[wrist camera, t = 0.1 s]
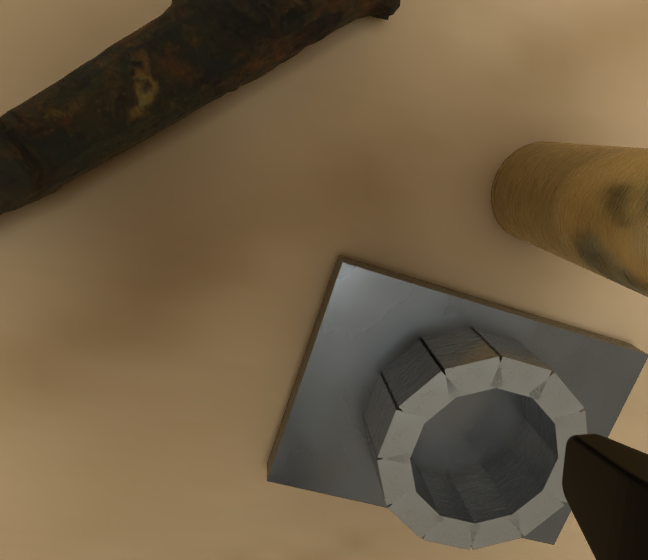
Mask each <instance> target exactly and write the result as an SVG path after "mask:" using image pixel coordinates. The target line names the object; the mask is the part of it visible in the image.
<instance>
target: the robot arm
mask: <svg viewBox="0 0 648 560" xmlns="http://www.w3.org/2000/svg"><path fill="white" fill-rule="evenodd" d="M562 488H563V492H564V496H565V498H566V500H567V502H568V504H569V506H570V508H571V510H572V512H573V514H574V516H575V518H576V520H577V522H578V524H579V526H580V528H581V530H582V532H583V534H584V536H585V538H586V540H587V542H588V544H589V546H590V548H591V550H592V552H593V554H594V556H595V558H596V560H648V454H646V453H643V452H641V451H638V450H636V449H633V448H631V447H628V446H626V445H623V444H621V443H619V442H616V441H614V440H611V439H609V438H606V437H604V436H601V435H599V434H581V435H572V436H571V437H570V438H569V439H568V440H567V443H566V449H565V458H564V467H563V476H562Z"/></svg>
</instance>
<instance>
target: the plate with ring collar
mask: <svg viewBox="0 0 648 560" xmlns="http://www.w3.org/2000/svg"><path fill="white" fill-rule="evenodd" d="M647 358H648V354H646V353H645V352H643V351H641V350H640V349H638V348H636V347H635V346H633V345H631V344H628V343H625V342H621V341H618V340H615V339H612V338H608V337H605V336H602V335H598V334H595V333H592V332H589V331H585V330H582V329H579V328H576V327H572V326H569V325H566V324H562V323H559V322H556V321H553V320H549V319H546V318H543V317H539V316H536V315H533V314H530V313H526V312H523V311H520V310H516V309H513V308H510V307H507V306H503V305H500V304H497V303H493V302H490V301H487V300H484V299H480V298H477V297H474V296H470V295H467V294H464V293H461V292H457V291H454V290H451V289H447V288H444V287H441V286H438V285H434V284H431V283H428V282H424V281H421V280H418V279H415V278H411V277H408V276H405V275H401V274H398V273H395V272H392V271H388V270H385V269H382V268H378V267H375V266H372V265H369V264H365V263H362V262H359V261H355V260H352V259H349V258H346V257H342V256H338V259H337V262H336V265H335V268H334V271H333V274H332V277H331V280H330V282H329V285H328V288H327V291H326V294H325V297H324V300H323V303H322V306H321V309H320V312H319V314H318V317H317V320H316V323H315V326H314V329H313V332H312V335H311V338H310V341H309V344H308V346H307V349H306V352H305V355H304V358H303V361H302V364H301V367H300V370H299V373H298V376H297V379H296V381H295V384H294V387H293V390H292V393H291V396H290V399H289V402H288V405H287V408H286V411H285V413H284V416H283V419H282V422H281V425H280V428H279V431H278V434H277V437H276V440H275V443H274V446H273V448H272V451H271V454H270V457H269V460H268V463H267V481H270V482H274V483H279V484H283V485H288V486H292V487H297V488H301V489H306V490H310V491H315V492H319V493H324V494H328V495H333V496H337V497H342V498H346V499H350V500H355V501H359V502H364V503H368V504H373V505H377V506H382V507H386V508H388V509H390V510H391V511H392V512H393V513H394V514H395V515H396V516H397V517H398V518H399V519H400V520H401V521H402V522H403V523H404V524H405V525H407V526H408V527H409V528H410V529H411V530H412V531H413V532H414V533H415V534H416V535H417V536H418V537H419V538H423V540H426V541H430V542H435V543H440V544H444V545H449V546H454V547H458V548H463V549H468V550H470V548H471V547H472V549H473V550H474V549H478V548H482V547H486V546H490V545H494V544H498V543H502V542H506V541H510V540H514V539H518V538H525V539H530V540H534V541H539V542H543V543H548V544H552V545H554V544H555V542H556V540H557V538H558V536H559V534H560V532H561V530H562V528H563V526H564V524H565V522H566V520H567V518H568V516H569V514H570V512H571V508H570V506H569V504H568V502H567V500H566V498H565V496H564V492H563V488H562V476H563V467H564V458H565V449H566V443H567V440H568V439H569V438H570V437H571V436H572V435H581V434H599V435H601V436H604V437H606V438H608V436H609V434H610V432H611V430H612V428H613V426H614V424H615V422H616V420H617V418H618V416H619V414H620V412H621V410H622V408H623V406H624V404H625V402H626V400H627V398H628V396H629V394H630V392H631V390H632V388H633V386H634V384H635V382H636V380H637V378H638V376H639V374H640V372H641V370H642V368H643V366H644V364H645V362H646V360H647Z"/></svg>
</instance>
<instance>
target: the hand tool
mask: <svg viewBox="0 0 648 560" xmlns="http://www.w3.org/2000/svg"><path fill="white" fill-rule="evenodd" d="M399 6H400V0H173V1H172V4H171V6H170V7H169V8H168V9H167V10H166V11H165V12H164V13H163V14H162V15H161V16H159V17H158V18H156V19H154V20H153V21H151V22H149V23H148V24H146V25H145V26H143V27H142V28H140V29H138V30H137V31H135V32H134V33H132V34H130V35H128V36H127V37H125V38H123V39H122V40H120V41H118V42H117V43H115V44H113V45H112V46H110V47H108V48H107V49H106V50H104V51H103V52H102V53H101V54H99V55H98V56H97V57H95V58H94V59H92V60H90V61H88V62H87V63H85V64H83V65H82V66H80V67H79V68H77V69H76V70H74V71H73V72H71V73H70V74H68V75H67V76H65V77H64V78H62V79H61V80H59V81H58V82H56V83H54V84H53V85H51V86H49V87H48V88H46V89H45V90H43V91H41V92H40V93H38V94H36V95H35V96H33V97H32V98H30V99H28V100H27V101H25V102H24V103H22V104H20V105H19V106H17V107H15V108H13V109H11V110H10V111H8V112H7V113H5V114H4V115H3V116H1V117H0V215H1V214H2V213H4V212H8V211H12V210H16V209H18V208H20V207H22V206H25V205H27V204H29V203H32V202H34V201H36V200H38V199H40V198H42V197H44V196H46V195H48V194H51V193H53V192H55V191H57V190H58V189H59V188H61V187H62V186H63V185H64V184H66V183H68V182H69V181H71V180H72V179H74V178H75V177H77V176H78V175H80V174H82V173H84V172H86V171H88V170H90V169H92V168H94V167H95V166H97V165H99V164H101V163H103V162H104V161H106V160H108V159H110V158H112V157H114V156H116V155H118V154H120V153H122V152H124V151H125V150H127V149H129V148H131V147H132V146H134V145H136V144H138V143H139V142H141V141H143V140H145V139H147V138H149V137H150V136H152V135H154V134H156V133H158V132H159V131H161V130H163V129H165V128H166V127H168V126H170V125H172V124H174V123H175V122H177V121H179V120H180V119H182V118H184V117H185V116H187V115H188V114H190V113H192V112H193V111H195V110H197V109H198V108H200V107H202V106H203V105H205V104H207V103H209V102H211V101H212V100H214V99H217V98H219V97H221V96H222V95H224V94H226V93H227V92H231V91H234V90H236V89H237V88H238V87H239V86H241V85H244V84H246V83H248V82H251V81H253V80H255V79H257V78H259V77H261V76H262V75H264V74H266V73H267V72H269V71H270V70H272V69H273V68H275V67H276V66H277V65H278V64H280V63H283V62H285V61H286V60H288V59H290V58H291V57H293V56H295V55H296V54H298V53H299V52H300V51H301V50H302V49H303V48H305V47H306V46H308V45H311V44H314V43H316V42H318V41H319V40H321V39H323V38H324V37H326V36H327V35H328V34H330V33H331V32H333V31H335V30H337V29H338V28H340V27H342V26H344V25H346V24H348V23H350V22H351V21H353V20H355V19H357V18H361V17H365V16H373V17H377V18H381V19H385V20H388V18H389V16H390V15H393V14H394V13H395V11H396V10H397V9H398V8H399Z"/></svg>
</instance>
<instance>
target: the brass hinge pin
mask: <svg viewBox="0 0 648 560" xmlns="http://www.w3.org/2000/svg"><path fill="white" fill-rule="evenodd" d="M491 202H492V208H493V212H494V214H495V217H496V219H497V221H498V222H499V224H500V225H501V226H502V227H503V229H505V230H506V231H507V232H508V233H509V234H511V235H513V236H515V237H517V238H519V239H521V240H523V241H526V242H528V243H530V244H532V245H534V246H537V247H539V248H541V249H543V250H545V251H548V252H550V253H552V254H554V255H557V256H559V257H561V258H563V259H565V260H568V261H570V262H572V263H574V264H576V265H579V266H581V267H583V268H585V269H587V270H590V271H592V272H594V273H596V274H598V275H601V276H603V277H605V278H607V279H609V280H612V281H614V282H616V283H618V284H621V285H623V286H625V287H627V288H629V289H632V290H634V291H636V292H638V293H640V294H643V295H645V296H647V297H648V149H647V148H631V147H615V146H600V145H584V144H569V143H553V142H538V143H533V144H529V145H527V146H524V147H522V148H520V149H518V150H517V151H516V152H514V153H513V154H512V155H511V156H509V157H508V158H507V159H506V161H505V162H504V163H503V164H502V166H501V167H500V169H499V170H498V172H497V174H496V177H495V179H494V182H493V186H492V193H491Z"/></svg>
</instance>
